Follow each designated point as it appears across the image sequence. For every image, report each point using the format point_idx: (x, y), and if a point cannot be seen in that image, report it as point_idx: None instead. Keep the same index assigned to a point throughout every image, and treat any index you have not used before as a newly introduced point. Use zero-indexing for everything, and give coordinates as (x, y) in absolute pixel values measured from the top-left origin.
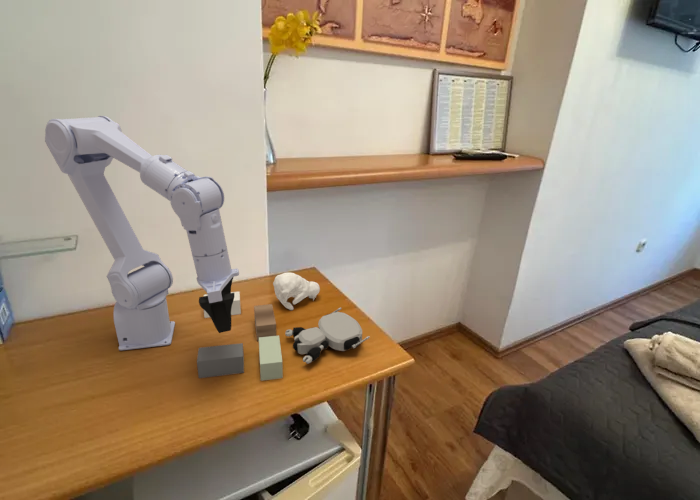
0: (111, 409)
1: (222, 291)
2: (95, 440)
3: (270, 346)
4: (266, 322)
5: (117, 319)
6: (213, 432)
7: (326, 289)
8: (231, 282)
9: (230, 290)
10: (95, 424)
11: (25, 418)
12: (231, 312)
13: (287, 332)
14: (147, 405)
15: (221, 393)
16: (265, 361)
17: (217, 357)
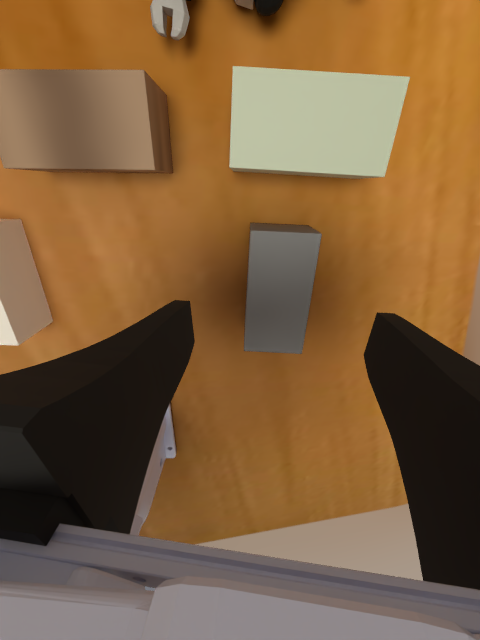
0: (324, 442)
1: (144, 393)
2: (381, 450)
3: (297, 121)
4: (129, 120)
5: (144, 517)
6: (466, 298)
7: None
8: (97, 383)
9: (135, 351)
10: (348, 454)
11: (302, 512)
12: (22, 251)
13: (173, 22)
14: (337, 402)
15: (362, 282)
16: (378, 153)
17: (300, 306)
